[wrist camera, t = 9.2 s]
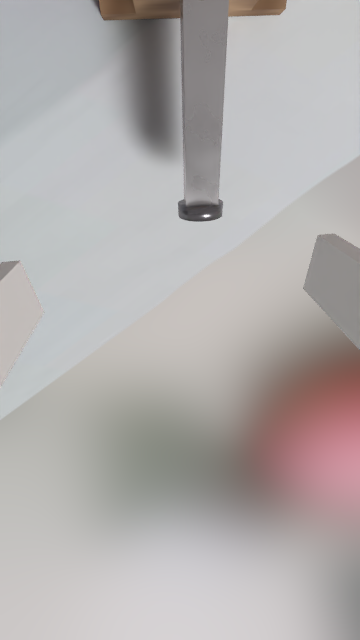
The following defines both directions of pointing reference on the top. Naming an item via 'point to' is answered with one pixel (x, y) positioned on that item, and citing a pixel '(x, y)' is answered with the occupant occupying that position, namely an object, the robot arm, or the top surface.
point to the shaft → (202, 105)
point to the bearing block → (165, 3)
